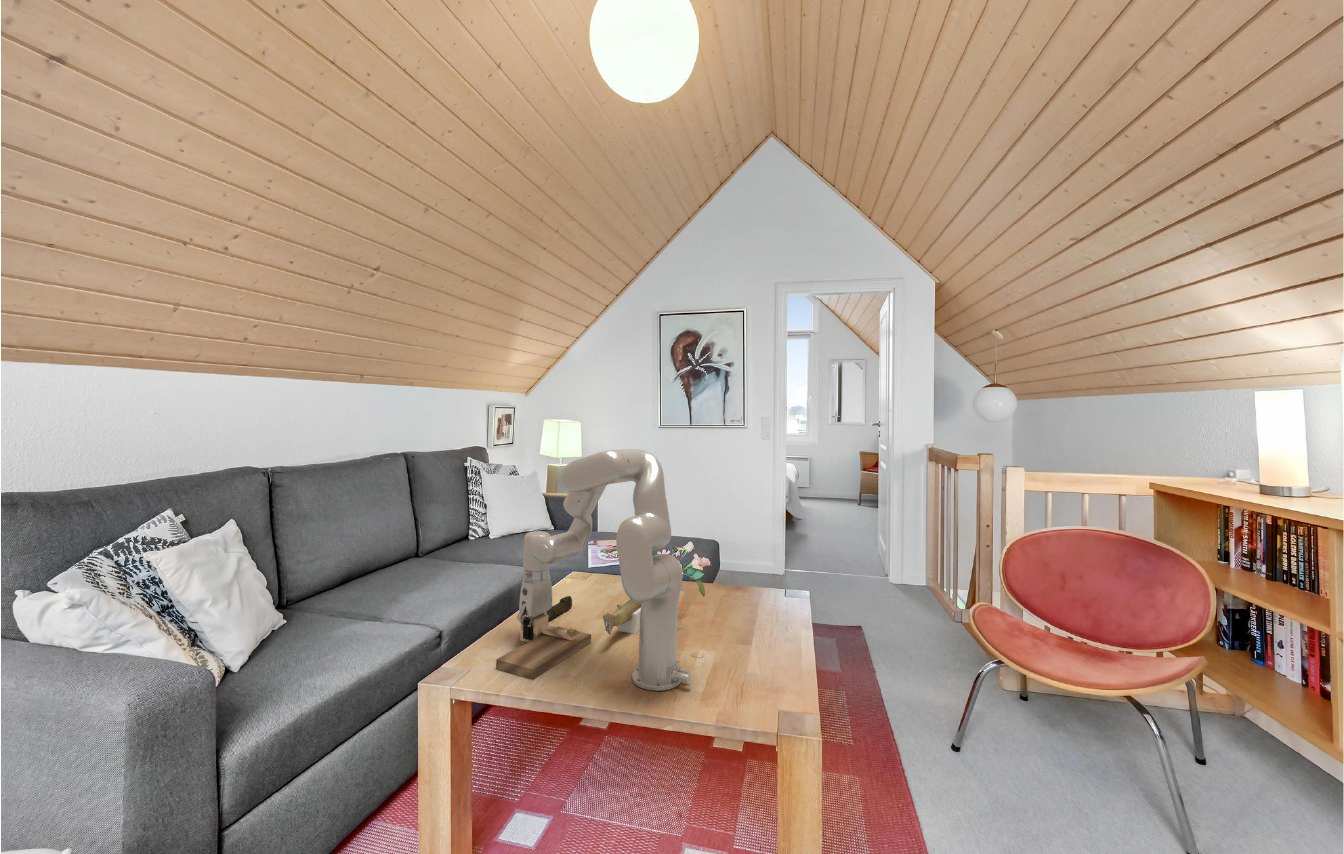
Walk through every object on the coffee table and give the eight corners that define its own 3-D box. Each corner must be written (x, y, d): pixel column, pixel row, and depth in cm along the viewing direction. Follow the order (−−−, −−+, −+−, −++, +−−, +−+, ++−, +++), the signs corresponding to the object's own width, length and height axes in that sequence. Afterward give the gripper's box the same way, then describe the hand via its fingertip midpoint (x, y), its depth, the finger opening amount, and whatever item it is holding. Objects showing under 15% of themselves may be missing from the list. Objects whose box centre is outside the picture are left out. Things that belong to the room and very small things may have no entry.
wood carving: (588, 650, 155) (589, 611, 155) (636, 611, 188) (637, 578, 188) (617, 655, 152) (618, 615, 152) (660, 615, 185) (661, 582, 185)
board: (590, 642, 160) (591, 634, 160) (533, 679, 137) (533, 669, 137) (557, 634, 165) (557, 626, 165) (496, 668, 142) (496, 659, 142)
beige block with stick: (578, 646, 158) (579, 622, 158) (568, 652, 153) (569, 627, 153) (531, 634, 165) (532, 611, 165) (520, 640, 160) (521, 616, 160)
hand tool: (543, 627, 172) (544, 612, 172) (533, 624, 174) (534, 610, 174) (578, 609, 189) (578, 595, 189) (568, 607, 191) (569, 593, 191)
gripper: (527, 583, 152) (525, 648, 152) (564, 569, 167) (562, 628, 167) (506, 579, 155) (504, 643, 155) (544, 565, 170) (542, 624, 171)
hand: (534, 635), depth 161 cm, fingers closed on beige block with stick, 5 cm apart
